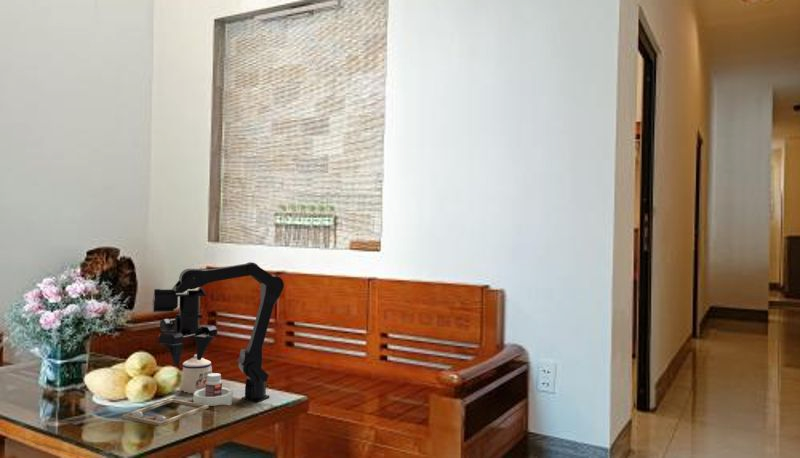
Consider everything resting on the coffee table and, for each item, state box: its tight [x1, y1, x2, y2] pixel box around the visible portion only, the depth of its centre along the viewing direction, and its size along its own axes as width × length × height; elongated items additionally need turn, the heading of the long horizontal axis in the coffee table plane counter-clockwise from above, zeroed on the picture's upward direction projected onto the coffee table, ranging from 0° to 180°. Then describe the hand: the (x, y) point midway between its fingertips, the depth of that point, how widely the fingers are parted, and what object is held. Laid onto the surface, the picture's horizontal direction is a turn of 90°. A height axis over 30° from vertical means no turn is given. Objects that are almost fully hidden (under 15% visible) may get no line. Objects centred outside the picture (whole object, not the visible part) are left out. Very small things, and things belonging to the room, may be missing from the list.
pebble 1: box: [132, 410, 144, 418], centre depth 163 cm, size 3×3×3 cm
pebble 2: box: [154, 415, 167, 422], centre depth 160 cm, size 3×3×3 cm
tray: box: [121, 398, 209, 427], centre depth 167 cm, size 18×14×2 cm
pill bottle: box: [205, 372, 223, 397], centre depth 180 cm, size 5×5×8 cm
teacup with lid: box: [181, 353, 213, 394], centre depth 197 cm, size 12×9×12 cm
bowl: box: [192, 387, 234, 407], centre depth 180 cm, size 11×11×4 cm
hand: (188, 362), depth 179 cm, fingers open, 9 cm apart
